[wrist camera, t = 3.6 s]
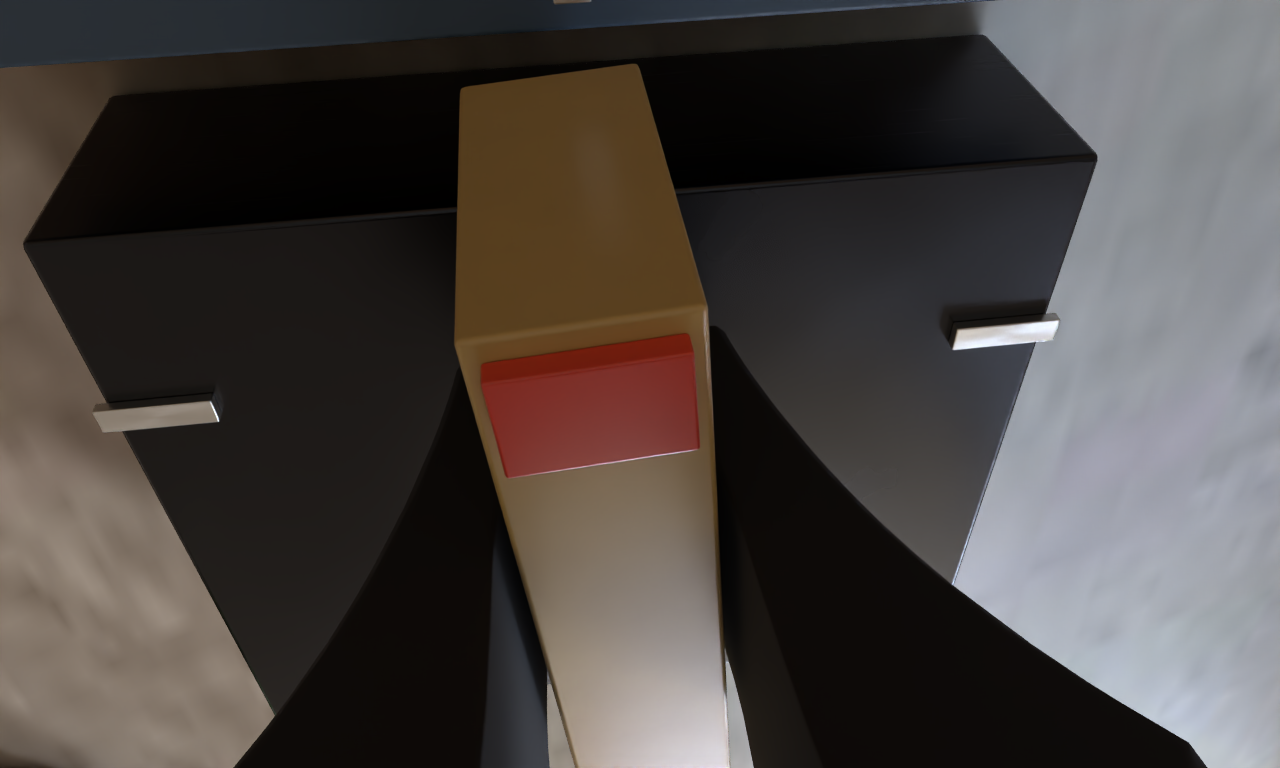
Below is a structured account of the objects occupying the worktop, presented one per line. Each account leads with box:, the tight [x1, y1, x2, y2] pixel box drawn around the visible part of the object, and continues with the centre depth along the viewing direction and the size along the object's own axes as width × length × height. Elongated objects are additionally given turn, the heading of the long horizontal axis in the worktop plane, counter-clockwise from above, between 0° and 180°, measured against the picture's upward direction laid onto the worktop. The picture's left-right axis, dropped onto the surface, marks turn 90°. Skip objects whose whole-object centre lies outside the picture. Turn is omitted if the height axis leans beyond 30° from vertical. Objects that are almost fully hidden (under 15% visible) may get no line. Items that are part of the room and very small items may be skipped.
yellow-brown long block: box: [454, 64, 730, 768], centre depth 11 cm, size 8×2×4 cm, turn 5°
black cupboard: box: [23, 0, 1097, 716], centre depth 14 cm, size 14×12×4 cm
